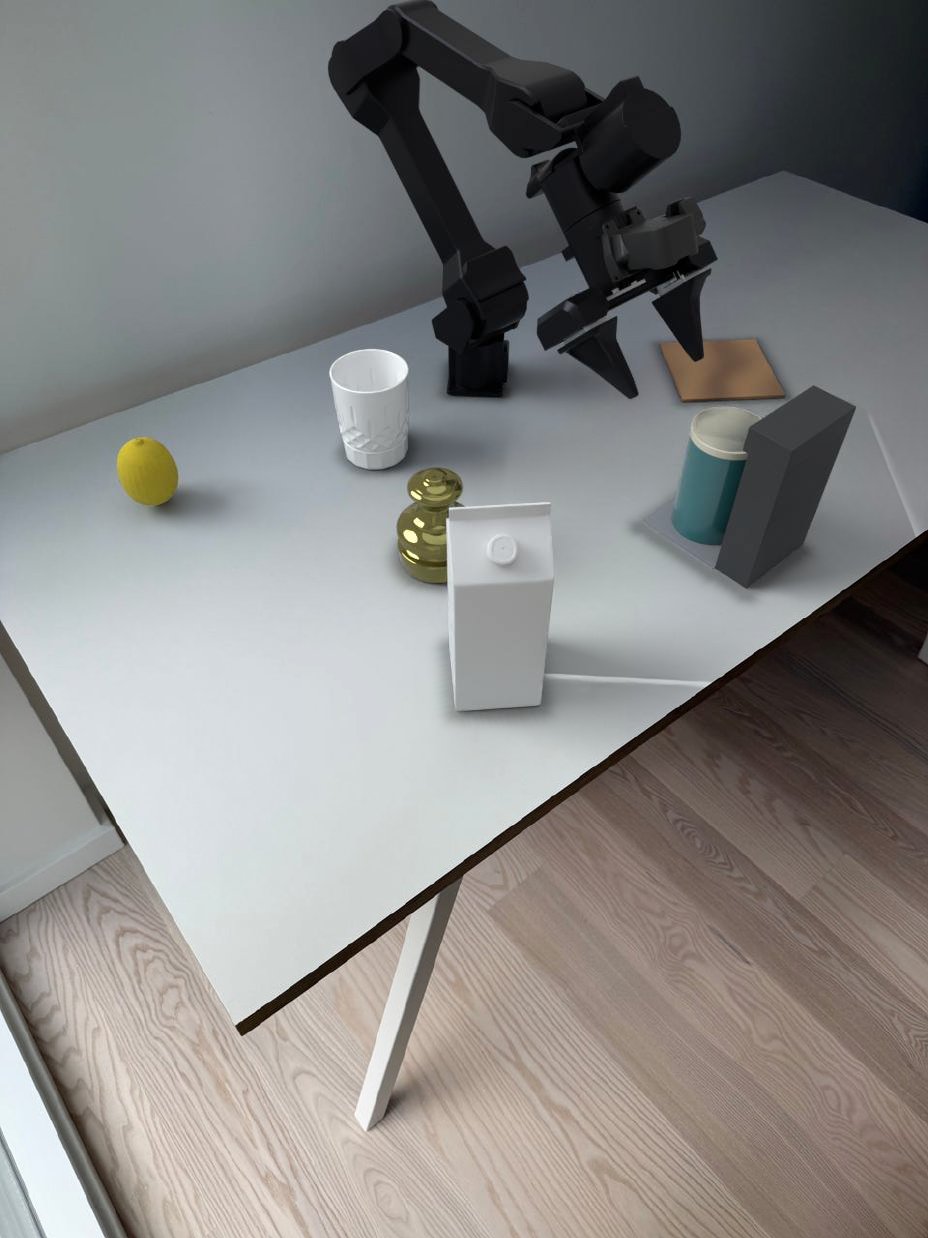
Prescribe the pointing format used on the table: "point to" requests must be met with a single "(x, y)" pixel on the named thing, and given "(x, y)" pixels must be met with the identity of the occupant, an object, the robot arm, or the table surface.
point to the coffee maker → (773, 487)
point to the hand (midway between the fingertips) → (667, 378)
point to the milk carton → (499, 603)
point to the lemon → (147, 471)
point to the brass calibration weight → (428, 523)
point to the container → (711, 473)
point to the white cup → (372, 406)
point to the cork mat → (722, 372)
